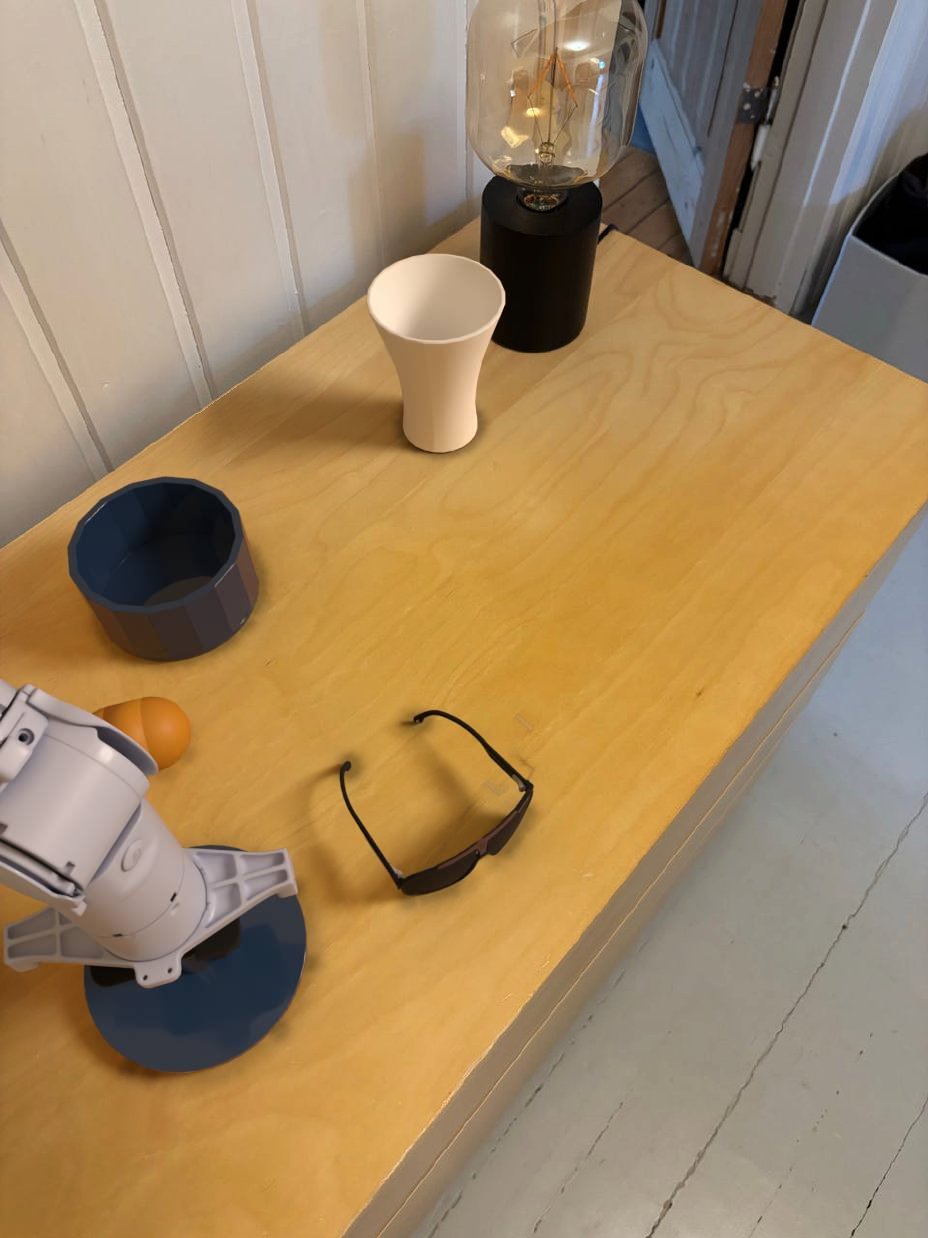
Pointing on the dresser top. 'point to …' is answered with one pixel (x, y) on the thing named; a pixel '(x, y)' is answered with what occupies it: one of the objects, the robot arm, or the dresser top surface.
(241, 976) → the lid
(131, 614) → the pot
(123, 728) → the orange banded oval part
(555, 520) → the dresser top surface
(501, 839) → the sunglasses
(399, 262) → the cup
